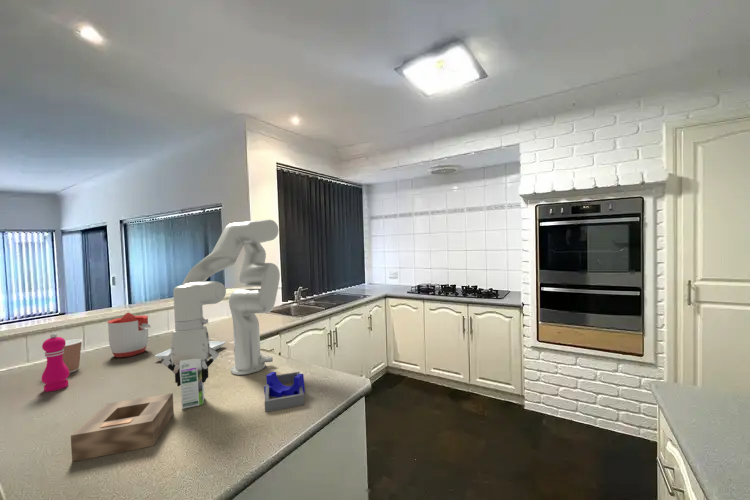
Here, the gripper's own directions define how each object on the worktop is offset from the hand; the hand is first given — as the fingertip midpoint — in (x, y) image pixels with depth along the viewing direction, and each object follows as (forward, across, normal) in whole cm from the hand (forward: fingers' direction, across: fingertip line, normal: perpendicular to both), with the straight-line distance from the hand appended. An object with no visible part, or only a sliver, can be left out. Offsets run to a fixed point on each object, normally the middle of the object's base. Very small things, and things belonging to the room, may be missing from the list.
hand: (192, 382), depth 98 cm
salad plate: (+7, +13, -56) cm, 58 cm away
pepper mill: (+7, +52, -34) cm, 63 cm away
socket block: (+7, +12, +13) cm, 19 cm away
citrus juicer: (+7, +42, -70) cm, 82 cm away
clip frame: (+7, -27, +5) cm, 28 cm away
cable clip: (+7, -27, +5) cm, 28 cm away
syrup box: (+7, 0, 0) cm, 7 cm away
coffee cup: (+7, +59, -54) cm, 80 cm away
